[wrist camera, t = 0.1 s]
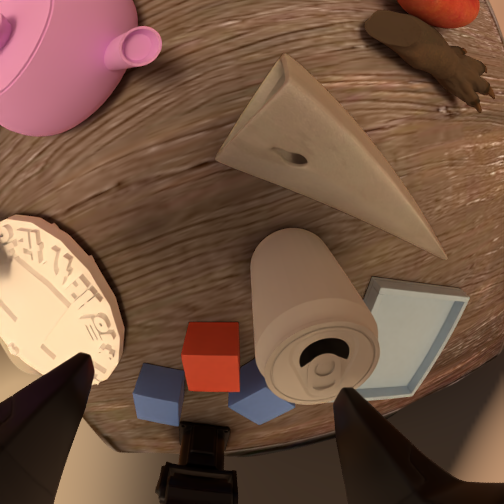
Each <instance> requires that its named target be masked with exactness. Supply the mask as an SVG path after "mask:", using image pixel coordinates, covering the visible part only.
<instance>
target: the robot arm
mask: <svg viewBox="0 0 504 504" xmlns="http://www.w3.org/2000/svg"><path fill="white" fill-rule="evenodd" d="M94 375H95V370H94V366H93V362H92V358H91V356H90V355H89V354H87V353H83V352H79V353H77V354H76V355H74V356H73V357H71V358H70V359H68V360H66V361H65V362H63V363H62V364H60V365H59V366H57V367H56V368H54V369H52V370H51V371H49V372H48V373H46V374H45V375H43V376H42V377H40V378H39V379H37V380H35V381H34V382H32V383H31V384H29V385H28V386H26V387H25V388H23V389H22V390H20V391H18V392H17V393H15V394H14V395H13V397H12V396H11V397H9V398H7V399H6V400H4V401H3V402H1V403H0V504H54V500H55V496H56V493H57V489H58V486H59V482H60V479H61V476H62V473H63V470H64V466H65V463H66V460H67V457H68V454H69V451H70V449H71V446H72V443H73V440H74V437H75V435H76V432H77V429H78V427H79V424H80V421H81V419H82V416H83V414H84V411H85V408H86V404H87V400H88V396H89V393H90V389H91V386H92V382H93V379H94ZM333 409H334V420H335V433H336V442H337V447H338V452H339V458H340V463H341V468H342V473H343V479H344V484H345V490H346V496H347V501H348V504H504V483H479V482H466V481H462V480H459V479H457V478H455V477H454V476H452V475H451V474H449V473H448V472H447V471H445V470H444V469H443V468H441V467H440V466H438V465H437V464H436V463H434V462H433V461H432V460H430V459H429V458H428V457H426V456H425V455H424V454H423V453H422V452H421V451H419V449H417V448H416V447H415V446H414V445H413V444H412V443H411V442H410V441H409V440H408V439H407V438H406V437H404V436H403V435H402V434H401V433H400V432H399V431H398V430H397V429H396V428H395V427H394V426H393V425H392V424H391V423H390V422H388V421H387V420H386V419H385V418H384V417H383V416H382V415H381V414H380V413H379V412H378V411H377V410H376V409H375V408H374V407H373V406H372V405H371V404H370V403H369V402H368V401H367V400H366V399H364V398H363V397H362V396H361V395H360V394H359V393H358V392H357V391H356V390H355V389H354V388H352V387H343V388H342V389H341V390H340V392H339V393H338V395H337V397H336V399H335V401H334V404H333ZM229 434H230V429H229V428H227V427H218V426H209V425H201V424H194V423H188V422H180V424H179V435H180V445H181V449H180V456H179V463H178V465H177V464H172V463H169V462H166V465H165V466H162V468H161V473H160V478H159V481H158V484H157V487H156V490H155V493H156V494H157V495H158V496H159V499H160V504H238V487H237V476H236V475H237V474H236V471H235V470H232V471H226V470H224V451H225V450H226V446H227V442H228V438H229Z"/></svg>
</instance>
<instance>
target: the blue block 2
mask: <svg viewBox="0 0 504 504" xmlns="http://www.w3.org/2000/svg"><path fill="white" fill-rule="evenodd" d="M228 407H229V408H231V409H232V410H234V411H236V412H237V413H239V414H241V415H242V416H244V417H246V418H248V419H249V420H251V421H253V422H255V423H256V424H258V425H261V424H263V423H265V422H267V421H269V420H271V419H273V418H275V417H277V416H279V415H281V414H283V413H285V412H287V411H289V410H291V409H293V408H295V403H291V402H288V401H285V400H283V399H281V398H279V397H278V396H276V395H275V394H274V393H273V392H272V391H271V390H270V389H269V387H268V386H267V383H266V381H265V378H264V376H263V375H262V374H261V373H260V371H259V369H258V367H257V364H256V360H255V359H253V360H252V361H250V362H249V363H247V364H245V365H244V366H242V367H240V392H229V399H228Z"/></svg>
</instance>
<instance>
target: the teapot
mask: <svg viewBox="0 0 504 504" xmlns="http://www.w3.org/2000/svg"><path fill="white" fill-rule="evenodd" d="M161 47H162V40H161V37H160V35H159V34H158V32H157V31H156V30H154V29H153V28H151V27H147V26H139V27H138V16H137V11H136V7H135V5H134V2H133V0H0V125H1V126H3V127H5V128H7V129H8V130H11V131H14V132H17V133H20V134H23V135H29V136H51V135H56V134H60V133H62V132H65V131H67V130H69V129H71V128H73V127H75V126H77V125H78V124H80V123H81V122H83V121H84V120H85V119H87V118H88V117H89V116H90V115H92V114H93V113H94V112H95V111H96V110H97V109H98V108H99V107H100V106H101V105H102V104H103V103H104V102H105V101H106V100H107V98H108V97H109V96H110V95H111V94H112V92H113V91H114V89H115V88H116V86H117V85H118V83H119V82H120V80H121V78H122V77H123V75H124V73H125V71H126V69H127V68H132V67H138V66H144V65H147V64H149V63H151V62H152V61H153V60H155V59H156V57H157V56H158V55H159V53H160V51H161Z"/></svg>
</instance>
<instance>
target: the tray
mask: <svg viewBox="0 0 504 504" xmlns="http://www.w3.org/2000/svg"><path fill="white" fill-rule="evenodd" d="M469 299H470V297H469V296H468V295H467V294H466V293H464V292H463V291H462V290H461V289H460V288H454V287H446V286H439V285H431V284H424V283H416V282H409V281H401V280H394V279H387V278H379V277H372V278H371V281H370V283H369V286H368V289H367V291H366V294H365V297H364V299H363V301H364V303H365V304H366V306H367V307H368V309H369V310H370V312H371V314H372V315H373V317H374V319H375V321H376V323H377V327H378V342H379V345H380V357H379V361H378V364H377V366H376V368H375V370H374V371H373V373H372V374H371V376H370V377H369V378H368V379H367V380H366V381H365V382H364V383H363V384H362V385H361V386H360V387H358V388H357V389H355V390H356V391H357V392H358V393H359V394H360V395H361V396H362V397H363V398H364V399H366V400H367V401H369V400H381V399H392V398H401V397H409V396H413V394H414V393H415V392H416V390H417V389H418V387H419V386H420V385H421V383H422V382H423V380H424V379H425V377H426V376H427V374H428V373H429V371H430V369H431V368H432V366H433V365H434V363H435V362H436V360H437V358H438V357H439V355H440V353H441V352H442V350H443V348H444V347H445V345H446V343H447V341H448V340H449V338H450V336H451V334H452V332H453V331H454V329H455V327H456V325H457V323H458V321H459V319H460V317H461V315H462V313H463V311H464V309H465V307H466V305H467V303H468V301H469ZM334 401H335V400H333V401H330V402H334Z"/></svg>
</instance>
